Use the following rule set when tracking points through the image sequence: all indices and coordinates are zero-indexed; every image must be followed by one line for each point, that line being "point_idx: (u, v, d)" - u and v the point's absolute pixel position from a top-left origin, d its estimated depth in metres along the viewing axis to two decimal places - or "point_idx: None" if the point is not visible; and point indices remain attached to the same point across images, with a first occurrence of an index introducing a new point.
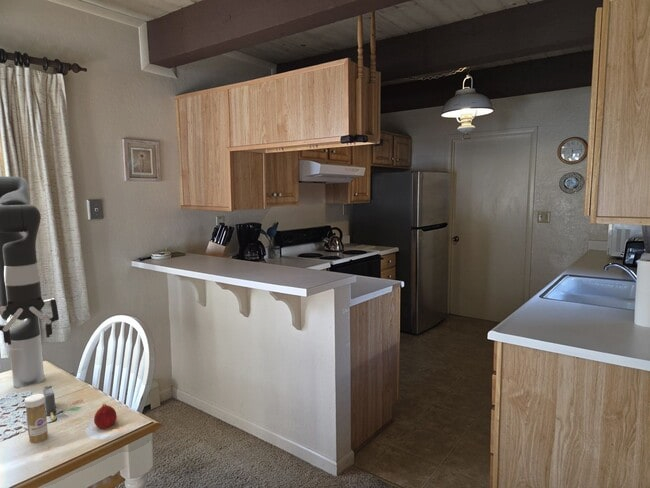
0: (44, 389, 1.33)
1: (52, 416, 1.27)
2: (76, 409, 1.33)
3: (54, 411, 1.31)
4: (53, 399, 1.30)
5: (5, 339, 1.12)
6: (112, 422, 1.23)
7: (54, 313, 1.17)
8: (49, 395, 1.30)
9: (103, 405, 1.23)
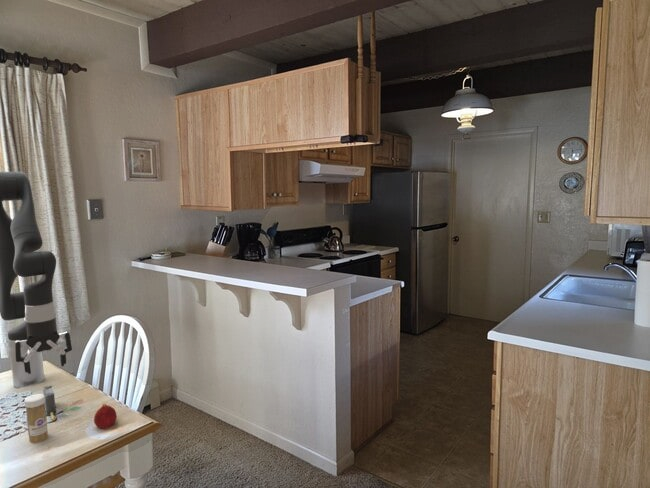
0: (44, 389, 1.33)
1: (52, 416, 1.27)
2: (76, 409, 1.33)
3: (54, 411, 1.31)
4: (53, 399, 1.30)
5: (26, 369, 1.28)
6: (112, 422, 1.23)
7: (68, 345, 1.33)
8: (49, 395, 1.30)
9: (103, 405, 1.23)
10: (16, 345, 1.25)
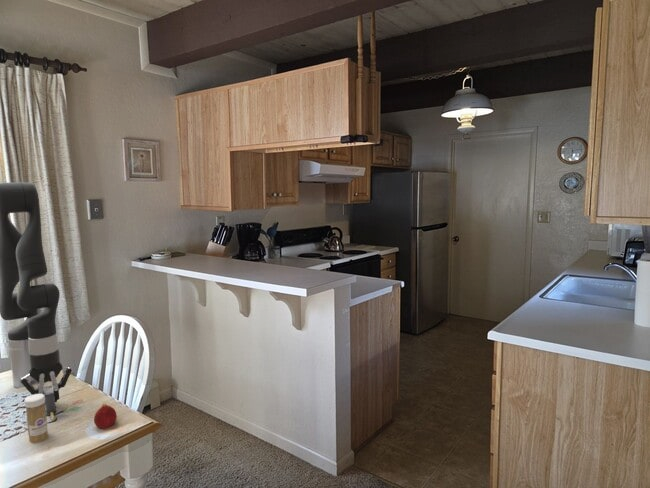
0: (44, 389, 1.33)
1: (52, 416, 1.27)
2: (76, 409, 1.33)
3: (54, 411, 1.31)
4: (53, 399, 1.30)
5: None
6: (112, 422, 1.23)
7: (64, 380, 1.34)
8: (49, 395, 1.30)
9: (103, 405, 1.23)
10: (22, 382, 1.27)
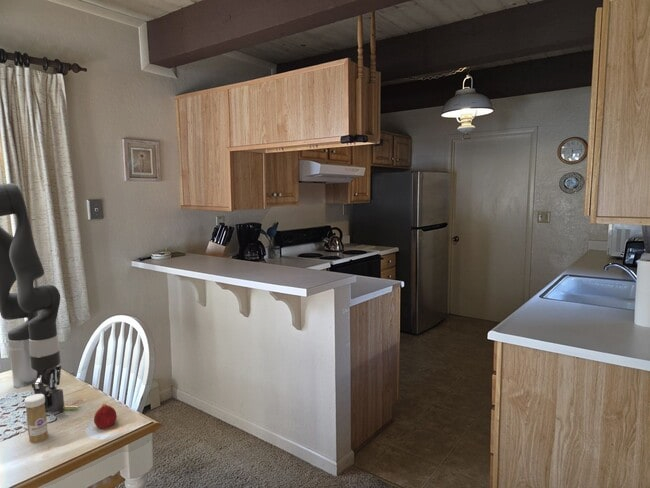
0: None
1: (73, 406, 1.33)
2: (76, 409, 1.33)
3: None
4: None
5: (48, 403, 1.30)
6: (112, 422, 1.23)
7: (58, 378, 1.37)
8: (59, 391, 1.32)
9: (103, 405, 1.23)
10: (41, 385, 1.26)
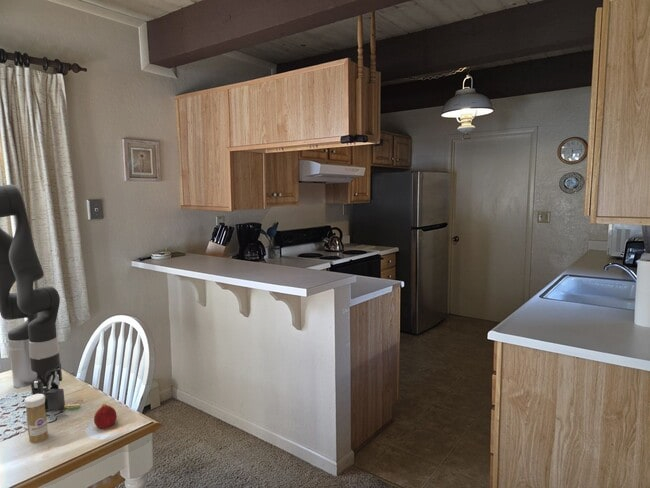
0: None
1: (75, 404, 1.34)
2: (76, 409, 1.33)
3: None
4: None
5: None
6: (112, 422, 1.23)
7: (60, 375, 1.38)
8: (60, 390, 1.33)
9: (103, 405, 1.23)
10: (40, 384, 1.25)
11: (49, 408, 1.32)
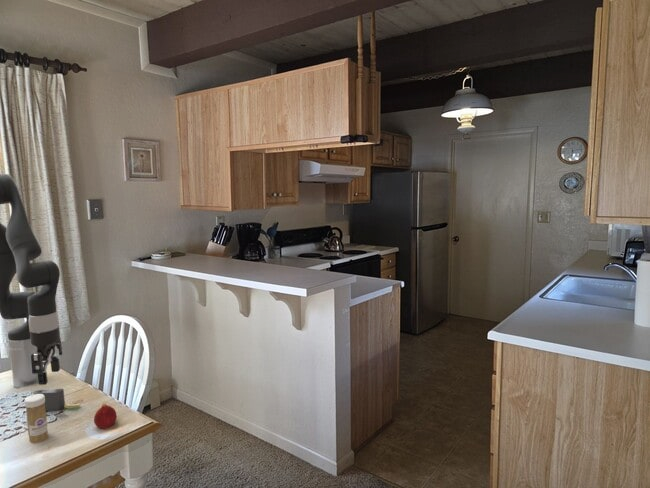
0: (39, 393, 1.31)
1: (75, 404, 1.34)
2: (76, 409, 1.33)
3: None
4: None
5: (44, 379, 1.28)
6: (112, 422, 1.23)
7: (60, 349, 1.38)
8: (60, 390, 1.33)
9: (103, 405, 1.23)
10: (40, 356, 1.25)
11: (49, 408, 1.32)
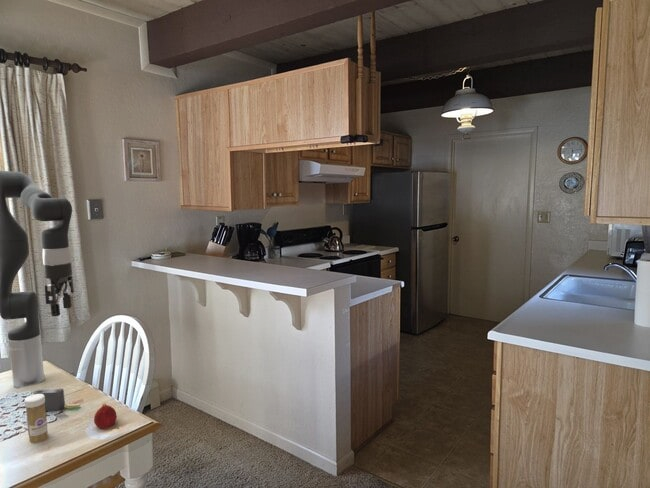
0: (39, 393, 1.31)
1: (75, 404, 1.34)
2: (76, 409, 1.33)
3: None
4: None
5: (56, 311, 1.33)
6: (112, 422, 1.23)
7: (72, 287, 1.43)
8: (60, 390, 1.33)
9: (103, 405, 1.23)
10: (53, 287, 1.30)
11: (49, 408, 1.32)
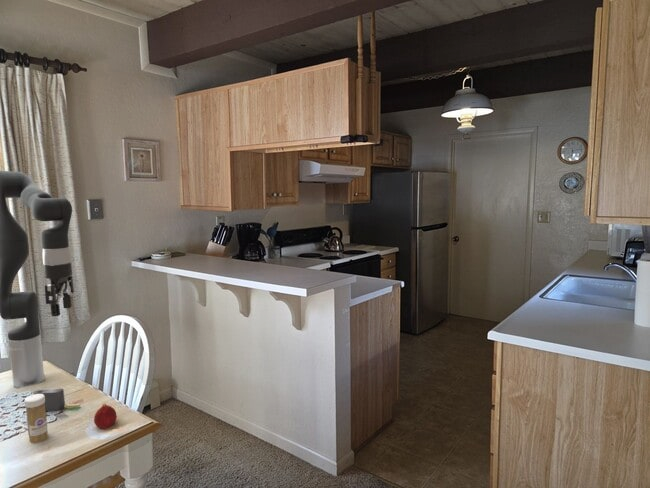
0: (39, 393, 1.31)
1: (75, 404, 1.34)
2: (76, 409, 1.33)
3: None
4: None
5: (56, 311, 1.33)
6: (112, 422, 1.23)
7: (72, 287, 1.43)
8: (60, 390, 1.33)
9: (103, 405, 1.23)
10: (53, 287, 1.30)
11: (49, 408, 1.32)
